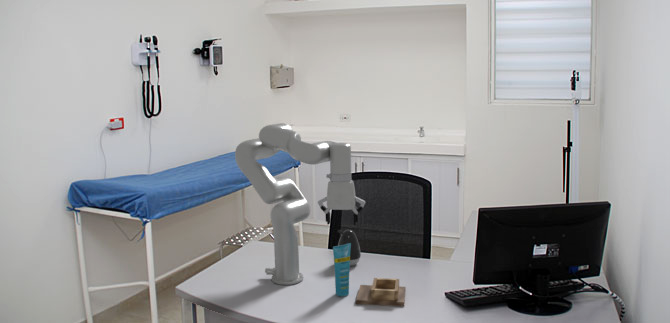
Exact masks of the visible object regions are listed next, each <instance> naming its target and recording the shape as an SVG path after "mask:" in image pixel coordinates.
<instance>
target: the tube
mask: <svg viewBox="0 0 670 323" xmlns="http://www.w3.org/2000/svg"><path fill="white" fill-rule="evenodd" d="M350 249H351V243H348V244H345V245H340V246H338V245H336V246H332V252H333V262H334V263H333V264H334V265H333V266H334V280H335V282H334V283H335V284H334V285H335V295H336V296H337V297H347V296H349V294H350V267H351V266H350Z"/></svg>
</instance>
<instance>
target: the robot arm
mask: <svg viewBox="0 0 670 323" xmlns="http://www.w3.org/2000/svg"><path fill="white" fill-rule="evenodd" d="M280 151H282V152H284V153H287V154H288V155H289V156H290V157H291V159H294V160H295V161H297V162H301V163H303V164H308V165H319V164H323V163H327V162H329V163H330V164H329V165H330V166H329V167H330V171H329V172H330V173H329V174H326V179H329V181H328V183H327V187H326V188H327V189H326V196H325V197H323V198H321V199H319V200H318V201H317V204H318V206H319V208H320V209H321V211H322V212H323V213H324V214H325V223H326V224H327V225H330V224H331V223H332V222H331V221H332V220H331V211H330V210H333V211H338V210H340V211H350V210H351V212H353V225H354V226H356V225H357V223H358V222H359V213H360V212H362V210H363V208H364V207H365V205H366V203H367V202H366V200H364V199H361V198H360V197H357V196H356V189H355V183H354V180H353V179H352V147H351V144H349V143H346V142H335V141H332V140H324V141H323V140H322V141H319V142H314V143H309V142H304V141H303V140H302V137H301V134H300V133H299V132H297V131H294V130H293V129H292V127H291V126H290V125H289V124H287V123H283V122H282V123H274V124H267V125H265V126H263V127H262V128H261V129H260V131H259V133H258V138H252V139H248V140H244V141H242V142H240V143H239V144H238V145H237V146H236V149H235V152H234V153H235V154H234V159H235V162H236V165H237V167H238V169H239V170H240V171H241V173H242V174H243V175H244V176H245V177H246V178H247V180H248V181H249V182H250V184H251V185H252V187H253V188H254V190H255V191H256V193H257V194H258V196H259V197H260V199H261V200H262V201H263V203H265V204H267V205H273V204H275V205H274V206H273V207H272V209H271V211H270V214H269V215H270V221H271V225H272V229H273V230H272V231H273V243H274V244H273V246H274V247H273V248H274V249H273V250H274V267H272V268H271V267H265V269H264V273H265V274H266V275H268V276H269V275H272V276H271V282H272V283H274V284H277V285H281V286H283V285H284V286H291V285H295V284H299V283H301V282H302V281H303V280H304V275H303V273H301V272H300V261H299V260H300V258H299V257H300V255H299V254H300V253H299V234H298V231H297V230H296V227H295V224H297V223H300V222H303V221H305V220H307V219H308V218H309V216H310V215H311V207H310V204H309V202H308V200H307V198H306V197H305V196H304V195H303V193H302V191H301V190H300V189H299V188H298V186H297V184H296V183H295V182H294V181H293V180H292V179H291V178H289V177H286V176H282V177H281V176H280V177H274V176H273V175H272V174H271V173H270V171H269V170H268V168H267V167H265V166H264V165H263V164H261V163H260V162H258V160H262V159H263V160H264V159H268V158H271V157H273V156H274V155H277V153H279V152H280ZM324 203H326V206H325V205H324ZM356 203H359V204H360V205H359V207H357V206H356V205H357V204H356Z"/></svg>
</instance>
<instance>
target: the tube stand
mask: <svg viewBox="0 0 670 323" xmlns="http://www.w3.org/2000/svg"><path fill="white" fill-rule="evenodd" d="M406 289H407V288H406V286H400V278H384V277H383V278H382V277H381V278H379V277H374V278H373V282H372V284H368V285H367V284H360V285H359V290H358V292H357V295H356V299H355V302H356V303H355V304H356V305H366V306H367V305H369V306H372V305H373V306H386V307H387V306H389V307H390V306H391V307H394V306H395V307H405V303H406V302H405V301H406Z"/></svg>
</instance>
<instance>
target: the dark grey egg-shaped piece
mask: <svg viewBox="0 0 670 323" xmlns="http://www.w3.org/2000/svg"><path fill="white" fill-rule="evenodd" d="M337 233H339V234H340V238H339V240H338V244H337V246H340V245H345V244H348V243H351V249H350V267H352V266H356V265H357V263H358V262H360V259H361V256H362V253H361V247H360V243H359V241H358V237H357V235H356V233H355V231H353V230H351V229H345V230H344V231H342V230H341V229H337Z"/></svg>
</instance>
